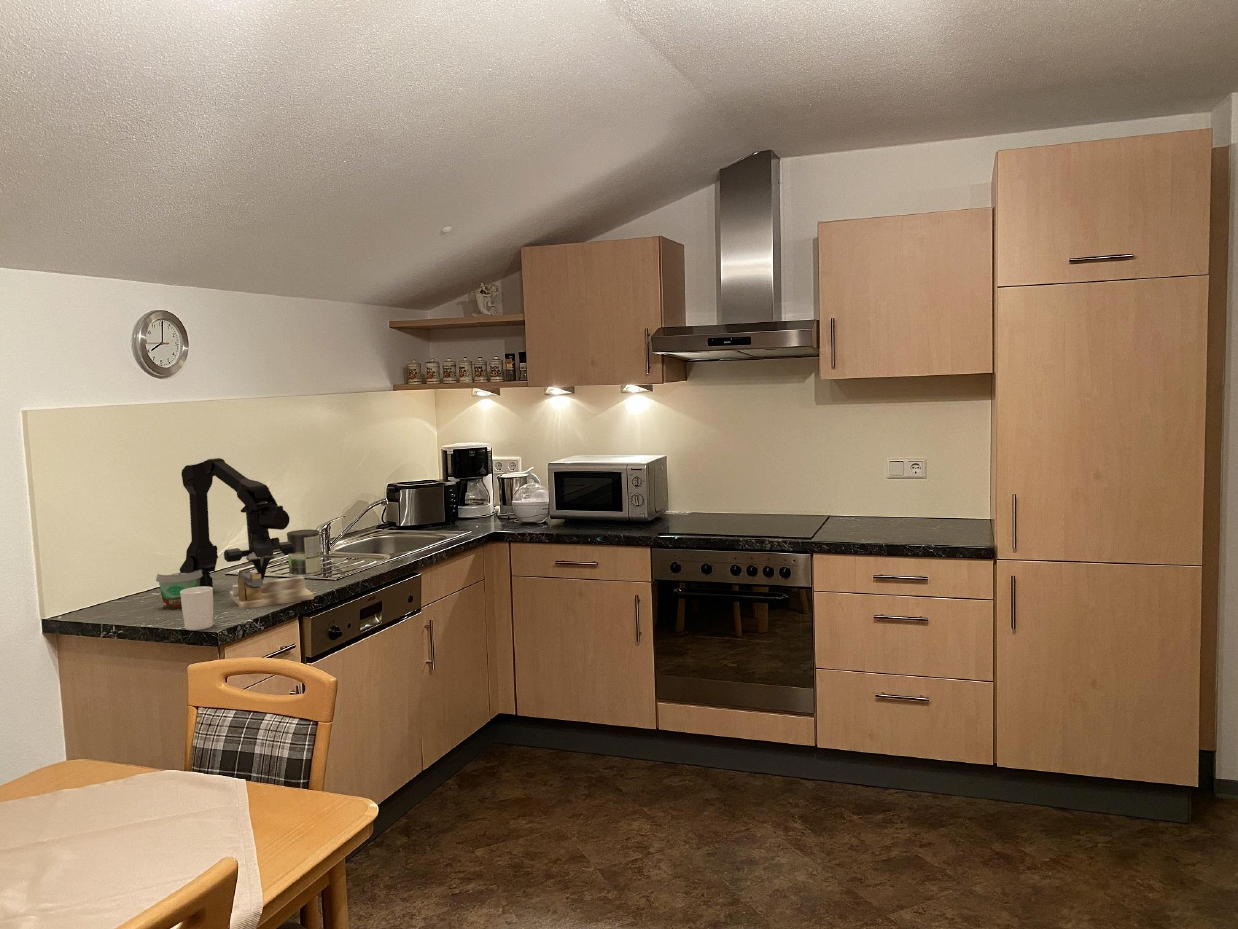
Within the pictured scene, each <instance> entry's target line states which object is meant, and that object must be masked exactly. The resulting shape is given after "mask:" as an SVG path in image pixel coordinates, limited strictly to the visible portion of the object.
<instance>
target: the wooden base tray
mask: <svg viewBox="0 0 1238 929" xmlns="http://www.w3.org/2000/svg"><path fill="white" fill-rule="evenodd" d="M231 587H232V590H229V592H228V593H229V594H228V595H229V597H230V599H231V600H233V602H234V603H235V604H237V606H238V607H239V608H240V609H241V610H245V609H252V608H259V607H260V608H261V607H265V606H266V607H267V606H273V605H275V606H276V605H281V604H287V603H294V602H295V601H296V602H302V601H301V600H303V601H308V600H314V599H315V596H314V595H315V594H314V593H313V592H312V591H310V590H309V589H307V587H306V583H305V577H302V576H300V577H293V576H291V577H286V578H279V579H271V580H263V586H257V587H251V586H250V585H248V584H246V583H245V582H244V578H242V577H239V578H238V577H237V584H232V586H231Z"/></svg>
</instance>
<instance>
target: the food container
mask: <svg viewBox="0 0 1238 929" xmlns="http://www.w3.org/2000/svg"><path fill="white" fill-rule="evenodd" d="M202 576H203V575H202V571H200V570H198V571H196V572H192V573H180V572H177V573H172V574H159V573H157V575H156V576H155V577H156V578H155V581H156V582H158V585H159V589H160V595H161V601H162V605H163V609H167V610H182V604H181V595H180V591H181V590H184V589H187V588H193V587H200V578H201V577H202Z"/></svg>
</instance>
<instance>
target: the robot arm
mask: <svg viewBox="0 0 1238 929" xmlns="http://www.w3.org/2000/svg"><path fill="white" fill-rule="evenodd" d="M214 477H216V478H217V479H219V480H220V481H221V482H223V483H224V484H226V485H227V486H228V487H229V488H231V489H232V490H234V491H235V492H236V497H237V498H238V500H240V502H241V503H242V504H244V506H243V507H242V508H241V510H240V513H242V514H243V513H244V514H245V519H246V530H247V533H246V534H247V545H248V549H243V550H241V549H240V548H238V547H237V548H230V549H229V548H228V549H225V550H224V552H223V557H224V558H223V559H224V560H225V561H226V562H227V563H233V562H240V561H241V559H242V558H245V560H247V561H248V562H249V563H252V564H253V566H254V568H255V571H256V573H260V574H261V578H262V579H263V581H265V575H266V572H267V569H268V565H269V564H270V562H271V560H274V559H275V556H274V554H275V553H282V554H283V555H288V554H291V553H295V547H294V545H293V544H292V543H290V542H289V541H280V538H279V537H272V538H271V537H270V533H269V530H277V531H278V530H279V531H282V530H285V529H286V528H287V527H288V526H289V524H290V516H289V514H288V512H287V511H286V510H285V509H284V506H283V505H278V503H277V500H276V499H275V498H274V495H273V494H272V493H271V491H270V488H269V487H268V485H267V484H264V483H262V482H260V481H258V480H254V479H250V478H248V477H246V476H245V475H243V474H242V473H241V472H239V471H238V470H236V469H235V468H234V467H232V466H231V465H229V464H228V463H227V462H226V461H225V460H224V459H223V458H221V457H217V458H208V459H206V460H204V461H201V462H199V463H195V464H187V465H185V466H183V469H182V470H181V480H182V481H181V482H182V486H183V488H184V489H185V490H186V491H187V493H188V495H189V513H190V514H189V515H190V517H189V518H190V536H191V537H190V538H191V541H190V543H189V545H188V547H187V549H186V553H185V560H184V561H183V563H182V565H181V566H180V568H179V573H192V572H196V571H198V570H200V571H202V575H203V576H202V577H201V578H200V587H212V588H213V589H214V584H213V577H212V576H211V573H213V572H215V571H216V566H217V562H218V559H219V555H218V546H217V545H214V544H213V542H212V541H211V539H210V523H209V521H210V520H209V499H208V493H209V491H210V489H211V487H212V485H213V478H214Z"/></svg>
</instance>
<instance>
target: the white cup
mask: <svg viewBox="0 0 1238 929" xmlns="http://www.w3.org/2000/svg"><path fill="white" fill-rule="evenodd" d="M180 595H181V604H182V609H181V610H182V618H183V620H184V622H183V623H184V629H185V630H187V631H199V630H207V629H209V628H211V627H213V626H214V587H213V588H212V587H193V588H187V589H184V590H181V591H180Z"/></svg>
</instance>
